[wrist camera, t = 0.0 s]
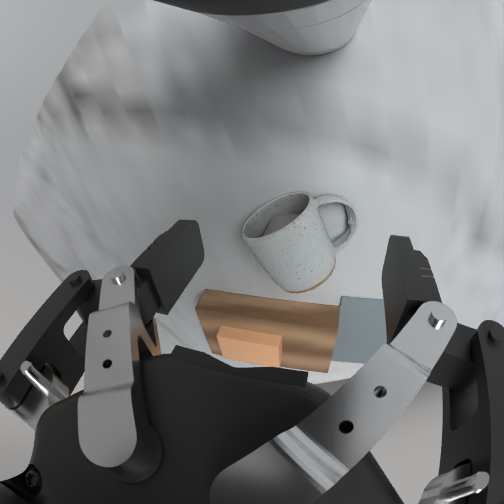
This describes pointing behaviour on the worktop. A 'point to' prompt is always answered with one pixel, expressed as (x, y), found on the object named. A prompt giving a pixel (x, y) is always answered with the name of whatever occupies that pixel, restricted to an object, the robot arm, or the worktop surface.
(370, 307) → the mat
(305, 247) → the ceramic mug
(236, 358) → the orange tan rectangular block
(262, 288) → the worktop surface
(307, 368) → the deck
